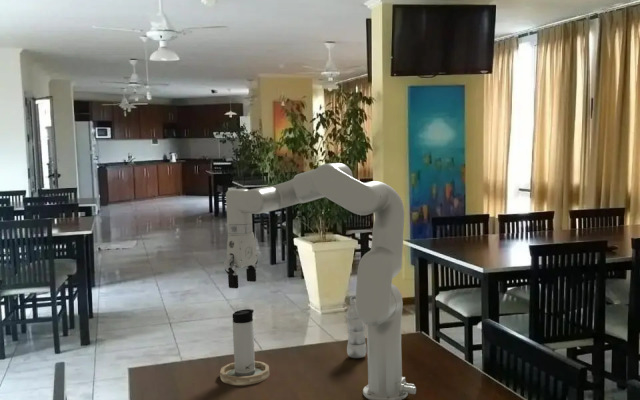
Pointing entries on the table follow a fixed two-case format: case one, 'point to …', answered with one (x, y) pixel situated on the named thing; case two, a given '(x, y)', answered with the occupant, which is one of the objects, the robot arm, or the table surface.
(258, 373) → the round tray
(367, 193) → the robot arm
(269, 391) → the table surface
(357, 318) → the plastic bottle
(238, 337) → the travel mug
